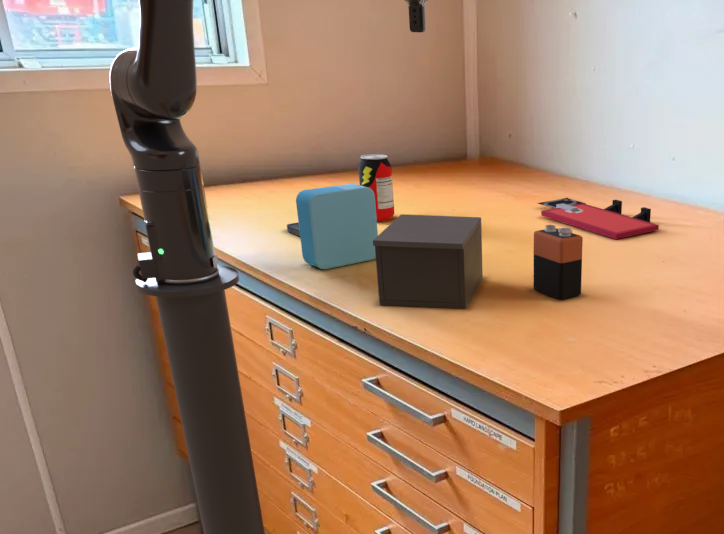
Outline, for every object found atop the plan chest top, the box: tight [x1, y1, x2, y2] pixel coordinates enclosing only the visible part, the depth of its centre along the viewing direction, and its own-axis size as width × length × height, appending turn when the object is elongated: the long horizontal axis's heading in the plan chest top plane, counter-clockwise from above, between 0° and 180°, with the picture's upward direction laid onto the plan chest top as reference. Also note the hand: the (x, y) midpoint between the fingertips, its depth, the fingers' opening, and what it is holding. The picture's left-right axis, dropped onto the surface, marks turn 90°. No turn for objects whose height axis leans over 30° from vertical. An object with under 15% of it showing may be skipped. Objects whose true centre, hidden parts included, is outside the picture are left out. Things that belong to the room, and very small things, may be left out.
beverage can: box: [357, 153, 395, 222], centre depth 171 cm, size 6×6×12 cm
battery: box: [533, 224, 584, 301], centre depth 131 cm, size 4×7×10 cm, turn 41°
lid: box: [373, 213, 482, 249], centre depth 128 cm, size 16×13×1 cm
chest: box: [375, 222, 484, 310], centre depth 131 cm, size 16×13×9 cm
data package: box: [295, 183, 379, 270], centre depth 143 cm, size 12×4×12 cm, turn 135°
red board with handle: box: [537, 197, 660, 240], centre depth 177 cm, size 30×3×15 cm
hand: (417, 32), depth 138 cm, fingers closed
